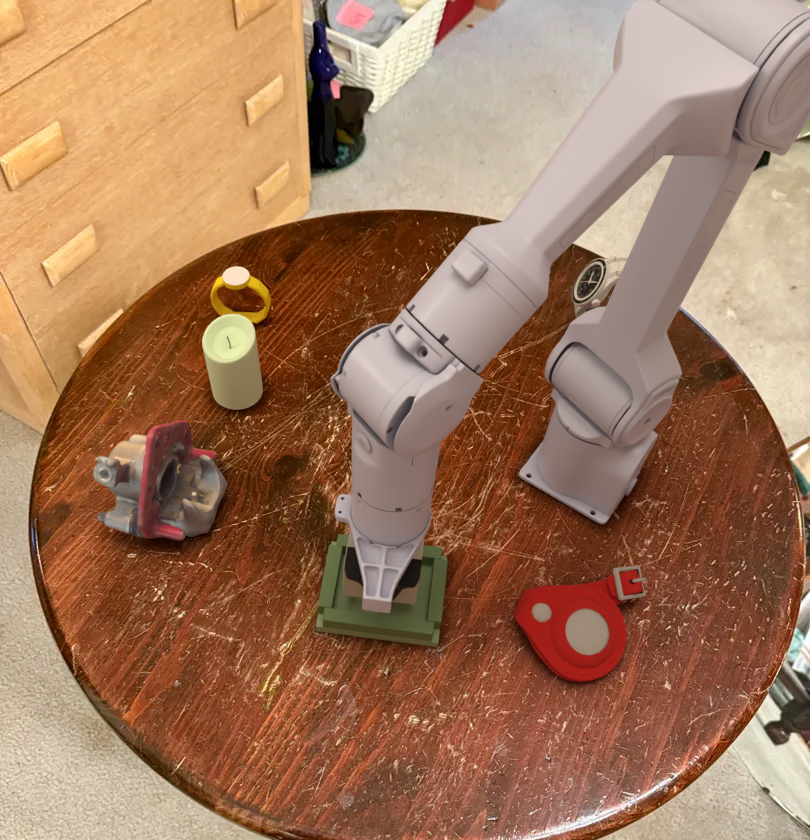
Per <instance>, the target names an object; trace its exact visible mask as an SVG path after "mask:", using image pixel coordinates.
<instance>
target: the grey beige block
mask: <svg viewBox="0 0 810 840" xmlns="http://www.w3.org/2000/svg"><path fill="white" fill-rule="evenodd" d="M348 532H349V533H348V535H349V538H348V543H347V547H355V546H354V542H353V538H352V533H351V529H350V528H349V531H348ZM424 545H425V538H424V539H423V541H422V543H421V544H420V546H419V548H418V550H417V551H416V553H415V555H414V557H413V558H412V559H420V560H422V554H423V546H424ZM346 553H347V549H346ZM345 559H346V555H345ZM344 567H345V560H344V566H343V590H344V595H345V596H352V597H360V598H363V587H362V585H361V584H359V583H357V582H355V581H353V580H349V579H347V577H346V574H345V570H344ZM418 584H419V581H418V583H417V585H416V586H415V587H414V588H406V589H403V590H401V592H400V593H399V594H398V596H397V597H396V598H395V599H394V600H393V601H392V602H397V603H405V604H412V605H415V602H416V596H417V590H418Z"/></svg>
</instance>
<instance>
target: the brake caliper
mask: <svg viewBox="0 0 810 840" xmlns="http://www.w3.org/2000/svg"><path fill="white" fill-rule="evenodd" d="M218 456H219V455H218V452H216V451H213V450H208V449H204V448H203V449H202V448H197V447H195V446H194V444H193V441H192V428H191V424H190V423H189V422H188V421H187V420H182V419H181V420H180V419H179V420H175V421H173V422H168V423H161V424H157V425H155V426H153V427H151V428H150V430H149V431H148V433H147V434H146V435H145V434H139V433H134V434H132V435H131V436H130V437H129V440H121V441H120V442H118V443H117V444H116V445H115V446H114V447H113V449H112V450H111V451H110V454H109V456H104V455H99V456H96V457H95V458H94V460H95V461H96V465H95V466H94V468H93V473H92V475H93V478H94V480H95V481H96V482H97V483H98V484H100V485H102V486H103V487H106V488H108V489H109V491H110V492H111V493H112V494H114V496H115V506H114V507H115V508H114V509H113V510H109V511H100V512H99V513H98V514H97V516H96V517H97V520H98V521H99V522H100V523H102V524H103V525H105V526H106V527H108V528H109V529H112V530H115V531H119V532H121V533H124V534H127V535H132V536H135V537H140V538H143V539H150V540H151V539H158V538H165V539H170V540H174V541H180V542H181V541H183V540H184V539H186V537H189V538H194V537H197V536H200V535H203V534H206V533H208V532H209V531H210V530H211V529H212V526H213V524H214V521H215V519H216V516H217V513H218V508H219V505H220V503H221V501H222V499H223V497H224V495H225V493H226V491H227V488H228V482H227V480H226V478H225V476H224V475H223V473H222V471H221V470H220V469H219V467H218V466H217V464H216V461H217V460H218V458H219V457H218Z"/></svg>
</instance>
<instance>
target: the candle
mask: <svg viewBox="0 0 810 840" xmlns="http://www.w3.org/2000/svg"><path fill="white" fill-rule="evenodd" d="M201 346H202V351H203V355H204V360H205V361H204V362H205V365H206V370H207V374H208V379H209V382H210V389H211V392H212V396H213V399H214V400H215V402H216V403H217V404H218V405H220V406H221V407H223V408H225V409H228V410H233V411H234V410H235V411H236V410H237V411H238V410H244V409H245V410H246V409H248V408H250V407H253V406H254V405H256V404H257V403H258V402H259V400H260V399H261V398H262V396H263V392H264V387H263V386H264V385H263V379H262V372H261V371H262V370H261V365H260V356H259V349H258V341H257V333H256V329H255V326H254V323H251V321H250V320H249V319H247V318H246V317H245V316H242V315H239V314H227V315H223V316H221V315H220V316H218V317H217V318H215V319H213V320H212V321H211V322H210V323H209V325H207V327H206V328H205V331H204V332H203V335H202V339H201Z"/></svg>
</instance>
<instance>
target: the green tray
mask: <svg viewBox="0 0 810 840" xmlns="http://www.w3.org/2000/svg"><path fill="white" fill-rule="evenodd" d="M348 538H349V534H344V533H338V534H337V538H336V541H332V540H331V543H330V544H328V548H327V554H326V559H325V565H324V569H323V573H322V574H323V575H322V580H321V585H320V591H319V596H318V602H317V617H316V622H315V632H319V633H327V634H335V635H342V636H349V637H357V638H365V639H373V640H381V641H387V642H388V641H389V642H395V643H403V644H411V645H419V646H426V647H432V648H433V647H434V648H438V647H439V642H440V631H441V625H442V620H443V612H444V601H445V593H446V592H445V591H446V582H447V572H448V563H449V561H448V556H446V555H442V554H443V553H442V552H443V547H442V546H436V545H435V546H434V545H427V544H424V546H423V554H422V566H421V574H420V579H419V584H418V590H417V596H416V602H415V605H412V604H405V603H397V602H392V604H391V611H390V613H383V612H374V611H368V610H363V609H362V602H363V598H360V597H352V596H345V595H344V590H343V566H344V560H345V555H346V549H347V543H348Z"/></svg>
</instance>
